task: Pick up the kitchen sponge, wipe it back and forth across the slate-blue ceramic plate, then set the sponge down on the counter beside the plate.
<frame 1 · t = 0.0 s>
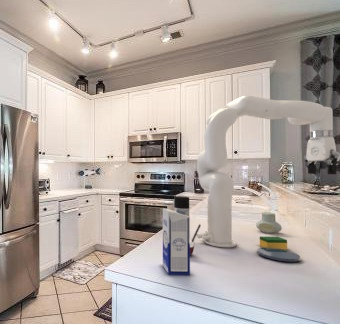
hand: (321, 173, 110), 31 cm above the counter, tool pointing down, fingers open, 9 cm apart
sponge: (273, 247, 105), on the counter
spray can: (181, 240, 116), on the counter
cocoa: (186, 255, 96), on the counter
plate: (277, 256, 94), on the counter
milk carton: (175, 271, 81), on the counter
air freshener: (268, 232, 131), on the counter
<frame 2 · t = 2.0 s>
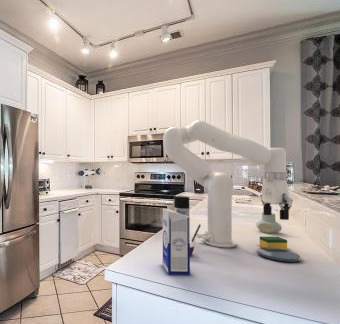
hand: (275, 217, 106), 13 cm above the counter, tool pointing down, fingers open, 9 cm apart
nothing on the counter moved.
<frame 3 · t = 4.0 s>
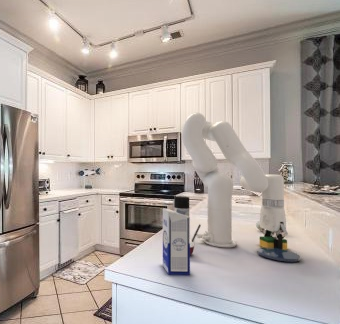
hand: (273, 246, 105), 1 cm above the counter, tool pointing down, fingers closed on sponge, 5 cm apart
sponge: (273, 247, 105), on the counter, touching gripper
everything else where it was.
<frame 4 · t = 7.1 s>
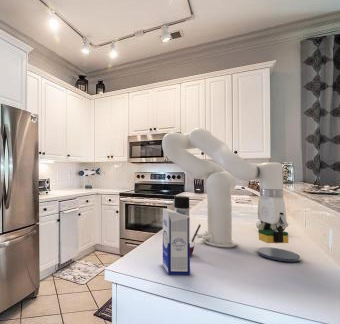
hand: (273, 239, 98), 6 cm above the counter, tool pointing down, fingers closed on sponge, 5 cm apart
sponge: (273, 241, 98), point 5 cm above the counter, touching gripper
everything else where it was.
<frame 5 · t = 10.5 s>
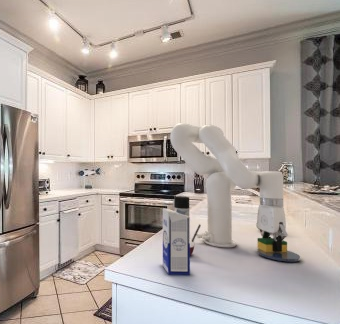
hand: (271, 248, 98), 2 cm above the counter, tool pointing down, fingers closed on sponge, 5 cm apart
sponge: (272, 250, 98), point 2 cm above the counter, touching gripper
everything else where it was.
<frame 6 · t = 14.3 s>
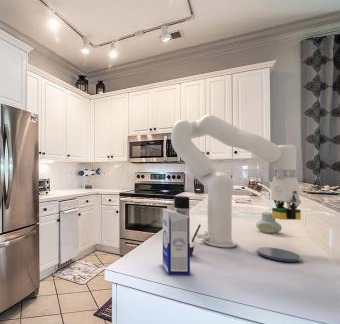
hand: (285, 217, 105), 13 cm above the counter, tool pointing down, fingers closed on sponge, 5 cm apart
sponge: (286, 218, 105), point 13 cm above the counter, touching gripper
everything else where it was.
when the fingers open (0 cm above the counter, at t = 17.2 s): sponge stays where it is, on the counter.
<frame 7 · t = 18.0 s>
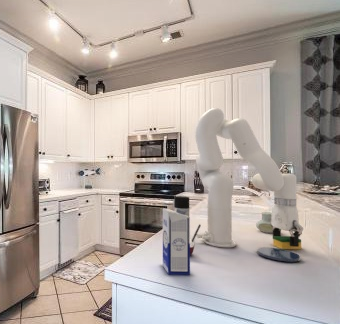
hand: (285, 242, 106), 2 cm above the counter, tool pointing down, fingers open, 9 cm apart
sponge: (286, 247, 106), on the counter
everything else where it was.
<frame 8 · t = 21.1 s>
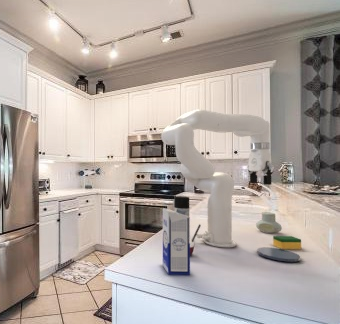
hand: (260, 183, 117), 26 cm above the counter, tool pointing down, fingers open, 9 cm apart
nothing on the counter moved.
at the end: sponge 0.5 cm from the target spot, on the counter; sponge tilted 0°; the gripper is holding nothing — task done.
